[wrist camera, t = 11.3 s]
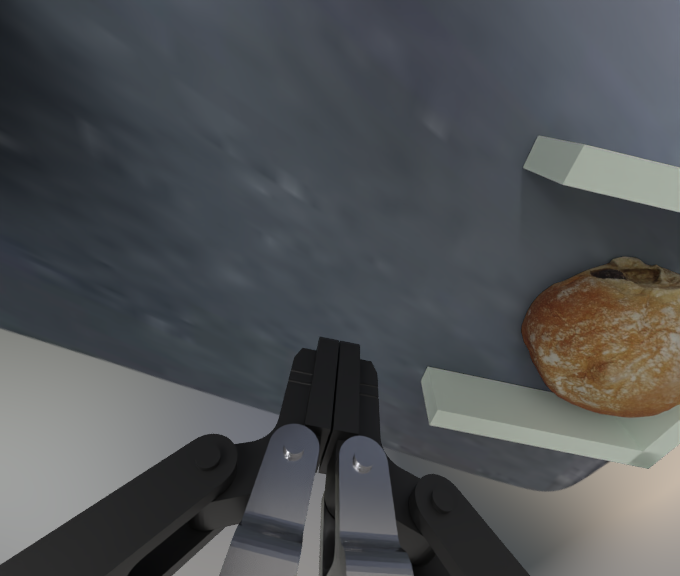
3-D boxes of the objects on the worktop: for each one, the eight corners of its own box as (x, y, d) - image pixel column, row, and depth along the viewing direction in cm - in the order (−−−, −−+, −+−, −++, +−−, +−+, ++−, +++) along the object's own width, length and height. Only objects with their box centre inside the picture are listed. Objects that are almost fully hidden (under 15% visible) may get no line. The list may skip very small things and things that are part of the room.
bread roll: (645, 240, 22) (772, 232, 14) (681, 380, 23) (823, 446, 15) (495, 279, 25) (535, 290, 17) (530, 405, 25) (584, 474, 17)
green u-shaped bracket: (538, 135, 16) (584, 144, 13) (826, 205, 17) (944, 231, 13) (420, 380, 25) (429, 424, 22) (611, 420, 26) (648, 468, 23)
